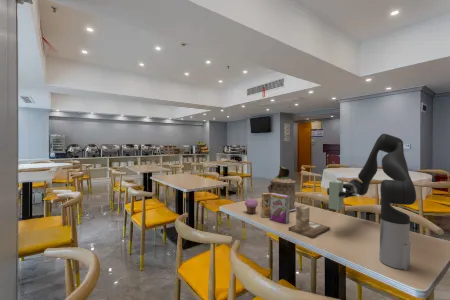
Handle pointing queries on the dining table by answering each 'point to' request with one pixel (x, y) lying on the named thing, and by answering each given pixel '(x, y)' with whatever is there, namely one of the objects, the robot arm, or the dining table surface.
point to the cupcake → (251, 205)
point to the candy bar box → (279, 208)
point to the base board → (311, 230)
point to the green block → (335, 195)
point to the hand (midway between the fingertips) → (333, 193)
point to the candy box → (266, 204)
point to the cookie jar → (284, 186)
